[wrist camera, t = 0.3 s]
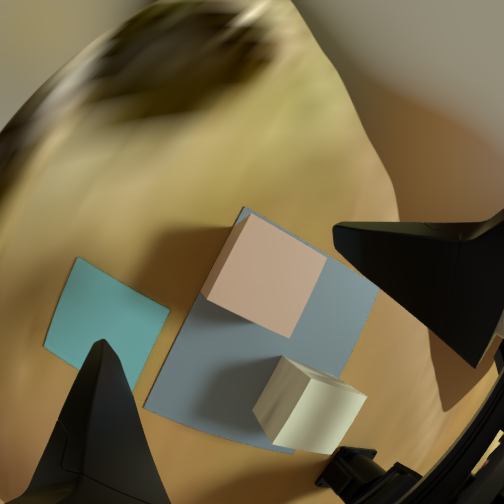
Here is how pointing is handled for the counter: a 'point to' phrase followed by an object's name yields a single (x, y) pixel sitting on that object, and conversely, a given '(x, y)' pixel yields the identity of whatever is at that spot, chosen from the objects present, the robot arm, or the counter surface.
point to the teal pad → (104, 320)
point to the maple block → (306, 407)
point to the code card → (256, 354)
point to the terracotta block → (264, 275)
